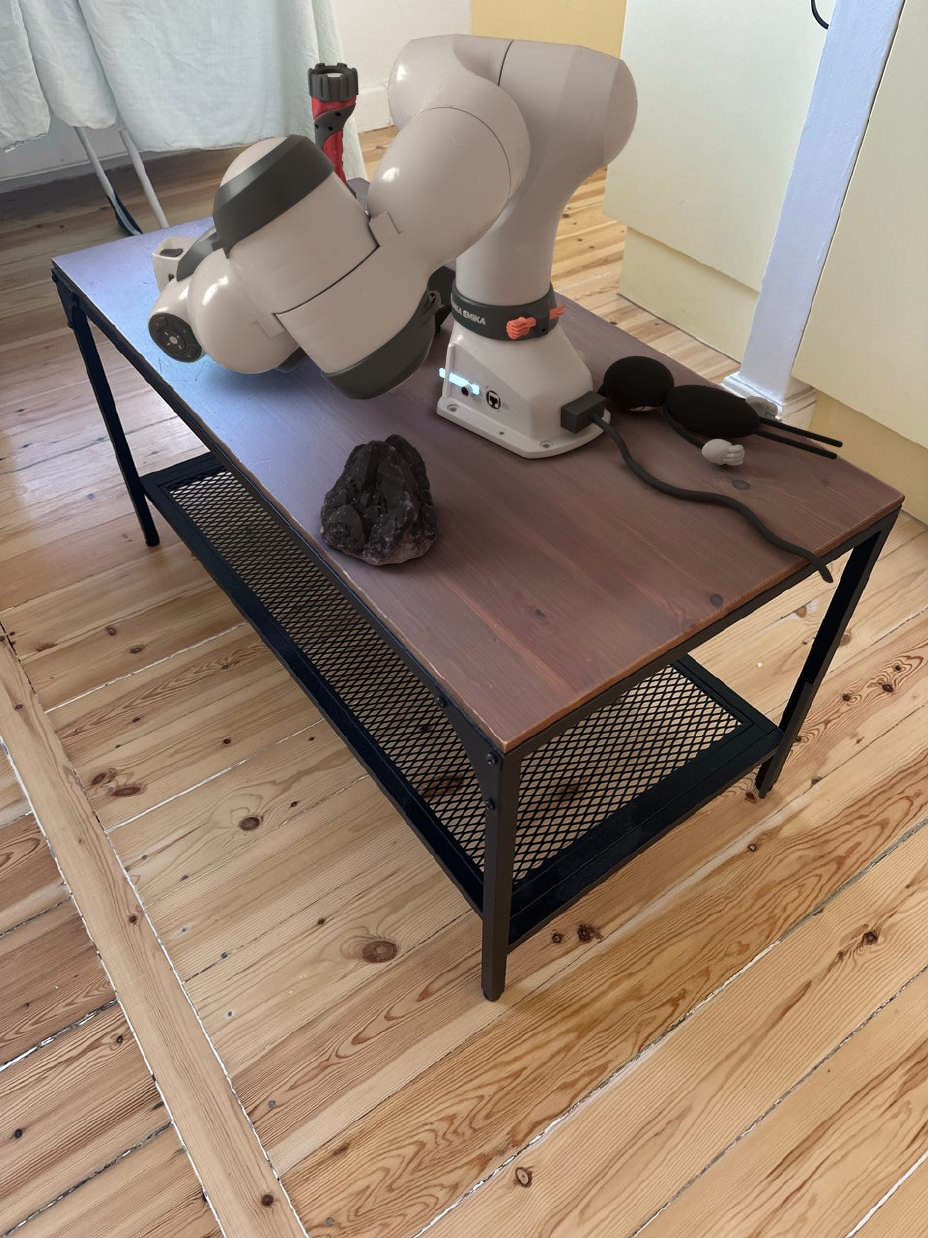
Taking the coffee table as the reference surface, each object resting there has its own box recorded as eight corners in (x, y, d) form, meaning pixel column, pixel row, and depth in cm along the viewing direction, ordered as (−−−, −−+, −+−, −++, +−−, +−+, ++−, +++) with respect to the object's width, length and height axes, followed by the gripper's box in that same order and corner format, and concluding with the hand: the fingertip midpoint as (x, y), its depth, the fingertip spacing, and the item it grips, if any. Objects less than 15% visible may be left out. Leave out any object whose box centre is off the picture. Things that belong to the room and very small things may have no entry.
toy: (854, 437, 109) (626, 367, 122) (865, 392, 102) (622, 323, 115) (809, 524, 106) (578, 443, 118) (817, 483, 99) (571, 401, 111)
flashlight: (370, 228, 153) (361, 73, 137) (323, 232, 152) (308, 76, 136) (362, 210, 159) (352, 58, 142) (317, 214, 157) (302, 61, 141)
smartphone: (392, 274, 141) (455, 310, 133) (391, 269, 140) (455, 305, 132) (429, 261, 144) (493, 296, 136) (429, 256, 144) (494, 290, 136)
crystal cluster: (364, 595, 92) (370, 518, 85) (288, 519, 98) (288, 442, 91) (465, 546, 99) (478, 472, 92) (388, 479, 105) (394, 404, 98)
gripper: (290, 264, 119) (318, 221, 129) (139, 252, 121) (178, 210, 131) (296, 310, 124) (323, 265, 133) (150, 298, 126) (187, 254, 135)
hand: (250, 238), depth 132 cm, fingers open, 8 cm apart
